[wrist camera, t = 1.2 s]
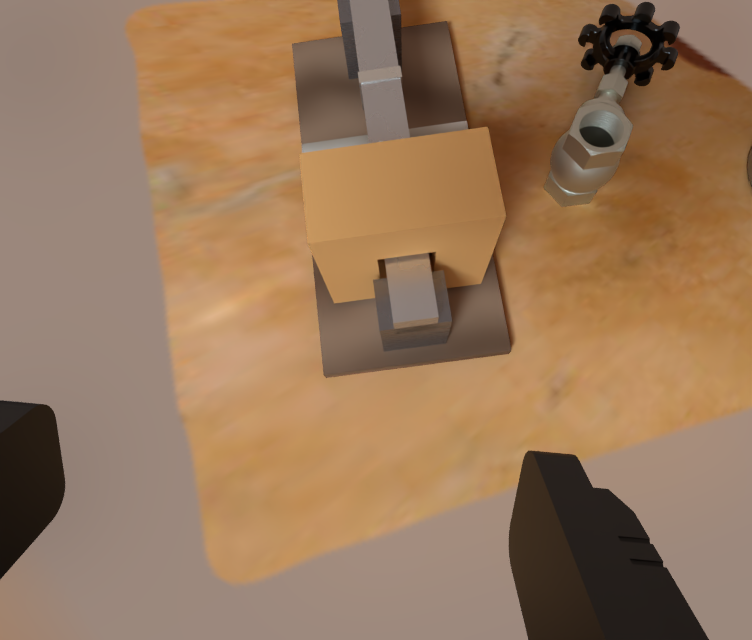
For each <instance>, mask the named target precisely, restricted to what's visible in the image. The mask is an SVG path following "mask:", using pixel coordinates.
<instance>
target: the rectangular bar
mask: <svg viewBox="0 0 752 640" xmlns="http://www.w3.org/2000/svg"><path fill="white" fill-rule="evenodd" d="M337 1H338V9H339V17H340V25H341V31H342V37H343V44H344V50H345V57H346V63H347V70H348V76H349V79H356V78H359V86H360V93H361V101H362V108H363V111H364V112H365V119H366V126H367V134H368V141H369V143H376V142H383V141H390V140H397V139H404V138H410V134H409V128H408V122H407V116H406V110H405V103H404V97H403V91H402V73H401V72H402V42H401V12H400V6H399V0H337ZM384 260H385V267H386V274H387V278H382V279H374V280H373V284H374V292H375V300H376V307H377V315H378V323H379V331H380V335H381V340H382V345H383V349H384V352H385V351H393V350H401V349H408V348H416V347H423V346H431V345H438V344H446V342H447V338H448V335H449V331H450V327H451V324H452V317H451V311H450V305H449V299H448V293H447V287H446V281H445V275H444V270H441V271H433V272H431V266H430V259H429V253H423V254H415V255H408V256H401V257H393V258H386V259H384Z"/></svg>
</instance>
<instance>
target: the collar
mask: <svg viewBox="0 0 752 640" xmlns="http://www.w3.org/2000/svg"><path fill="white" fill-rule="evenodd" d="M299 158H300V169H301V179H302V190H303V201H304V211H305V222H306V233H307V244H308V246H309V248H310V250H311V253H312V255H313V257H314V259H315V261H316V264H317V266H318V268H319V270H320V273H321V275H322V277H323V279H324V282H325V284H326V286H327V288H328V290H329V293H330V295H331V297H332V299H333V302H334V303H342V302H349V301H357V300H364V299H372V298H375V292H374V284H373V280H374V279H382V278H387V274H386V267H385V260H384V259H386V258H393V257H401V256H408V255H415V254H423V253H429V259H430V266H431V272H433V271H441V270H444V275H445V281H446V287H447V288H453V287H461V286H468V285H475V284H481V283H482V280H483V277H484V275H485V272H486V269H487V267H488V264H489V261H490V259H491V256H492V253H493V251H494V248H495V245H496V243H497V240H498V237H499V235H500V232H501V229H502V227H503V224H504V221H505V218H506V212H505V207H504V202H503V198H502V193H501V188H500V183H499V178H498V173H497V169H496V164H495V159H494V154H493V149H492V145H491V140H490V135H489V130H488V127H481V128H474V129H467V130H460V131H453V132H446V133H439V134H432V135H425V136H418V137H411V138H404V139H397V140H390V141H383V142H376V143H369V144H361V145H354V146H347V147H340V148H333V149H326V150H319V151H312V152H305V153H299Z"/></svg>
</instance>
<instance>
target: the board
mask: <svg viewBox="0 0 752 640" xmlns="http://www.w3.org/2000/svg"><path fill="white" fill-rule="evenodd" d="M401 42H402V72H401V73H402V91H403V97H404V103H405V110H406V116H407V122H408V128H409V134H410V138H411V137H418V136H425V135H432V134H439V133H446V132H453V131H460V130H467V129H468V125H467V121H466V116H465V111H464V105H463V100H462V95H461V90H460V85H459V80H458V75H457V70H456V65H455V59H454V54H453V49H452V44H451V39H450V34H449V29H448V24H447V21H444V22H437V23H430V24H424V25H417V26H410V27H403V28H401ZM292 48H293V58H294V69H295V79H296V90H297V100H298V111H299V121H300V132H301V142H302V153H305V152H312V151H319V150H326V149H333V148H340V147H347V146H354V145H361V144H369V141H368V134H367V126H366V119H365V112H364V111H363V108H362V101H361V93H360V86H359V78H356V79H349V76H348V70H347V63H346V57H345V50H344V44H343V37H335V38H328V39H322V40H315V41H308V42H301V43H294V44H292ZM312 257H313V255H312ZM313 268H314V278H315V289H316V299H317V309H318V320H319V330H320V341H321V351H322V362H323V372H324V376H325V377H326V378H328V377H336V376H343V375H351V374H359V373H366V372H374V371H381V370H389V369H397V368H404V367H412V366H420V365H427V364H435V363H442V362H450V361H458V360H465V359H473V358H480V357H488V356H496V355H503V354H509V353H510V352H511V346H510V341H509V335H508V330H507V325H506V320H505V315H504V310H503V305H502V300H501V295H500V289H499V284H498V279H497V274H496V269H495V264H494V259H493V254H492V256H491V259H490V261H489V264H488V267H487V269H486V272H485V275H484V277H483V280H482V283H481V284H475V285H468V286H461V287H453V288H447V293H448V299H449V305H450V311H451V317H452V324H451V327H450V331H449V335H448V338H447V342H446V344H438V345H431V346H423V347H416V348H408V349H401V350H393V351H385V352H384V349H383V345H382V340H381V335H380V331H379V323H378V315H377V307H376V300H375V298H372V299H364V300H357V301H349V302H342V303H334V302H333V299H332V297H331V295H330V293H329V290H328V288H327V286H326V284H325V282H324V279H323V277H322V275H321V273H320V270H319V268H318V266H317V264H316V261H315V259H314V257H313Z"/></svg>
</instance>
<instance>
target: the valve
mask: <svg viewBox="0 0 752 640" xmlns="http://www.w3.org/2000/svg"><path fill="white" fill-rule="evenodd" d="M654 12H655V7H654V5H653V4H652V3H650V2H643V3H641V4H639V5H638V7H637V9H636V11H635V14H634V15H633V16H622V15H621V14H620V8H619V7H618V6H617V5H615V4H609V5H607V6H605V7H604V9H603V11H602V13H601V16H600V18H599V24H600V25H602V24H604V23H605V25H604V26H602V27H601V28H597V27H596V26H595V25H593V24H588V25H585V26H584V27H583V29H582V31H581V33H580V36H579V38H578V42H579V44H580V45H581V46H583V47H585V45H586V42H590V43H592V44H593V49H588V50H587V51H586V52H585V54H584V57H583V59H582V61H581V66H582V67H583V68H584V69H585V70H593V67H594V65H596V64H597V63H599V64H600V65H602V66H603V67H604V69H603V70H604V74H605V75H603V77H602V79H601V82H600V84H599V86H598V89H597V91H596V94H595V96H594V99H591V100H588V101H586V102H585V103H583V104H582V105H581V107H580V108H579V109H578V111H577V113H576V116H575V118H574V120H573V122H572V124H571V127H570V129H569V131H567V132H566V133H565V134H563V135H562V136H561V137H560V139H559V140H558V141H557V143H556V144H555V146H554V148H553V151H552V154H551V161H550V165H551V170H550V173H549V175H548V178H547V180H546V183H545V185H544V189H545V190H546V191H547V192H548V193H549V194H550V195H551V196H552V197H553V199H554V200H555V201H556V202H557V203H558V204H559V205H560V206H561V207H567V206H574V205H582V204H588V203H590V201H591V200H592V198H593V197H594V195H595V194H596V192H597V190H598V189H599V188H600V187H602V186H603V185H605V184H606V183H607V182H608V181H609V180H610V179H611V178H612V176H613V175H614V174H615V172H616V170H617V167H618V165H619V161H620V156H621V155H622V153H623V152H624V150H625V147H626V145H627V142H628V139H629V137H630V134H631V131H632V128H633V124H632V123H631V122H630V120H629V119H628V118H627V117H626V116H625V113H624V111H623V109H622V107H620V106H619V103H620V101H621V99H622V97H623V95H624V92H625V89H626V87H627V84H628V82H627V79H629V78H630V77H631V76H632V75H633V74H635V77H636V78H635V81H634V83H635V84H636V85H638V86H646V85H648V84H649V83H650V80H651V78H652V75H653V72H654V69H653V67H652V66H653V65H654V64H655V63H661V64H662V68H661V70H669V69H671V68H673V66H674V64H675V61H676V58H677V56H678V52H677V50H676V49H675V48H672V47H667V48H665V47H664V42H665V41H668V44H669V45H671V44H673V43H674V42H675V40H676V38H677V35H678V32H679V29H680V26H679V24H678V23H677V22H675V21H667V22H665V23H664V24H663V25H661V26H657V25H655V24H654V23H653V22H651V20H652V17H653V15H654ZM622 29H631V30H636V31H639V32H641V33H643V34H645V35H646V36H647V37H648V38H649V39H650V41H651V43H652V46H651V49H650V51H649V52H648V53H647V54H645V55H641V56H640V51H639V50H640V47H641V45H642V43H641V41H640V40H639V39H638V38H637V37H636V36H634V35H624V36H620V37H619V38H618V40H617V42H616V44H615V45H614V46H613V47H612V46H611V44H610V37H611V34H612V33H613V32H615V31H617V30H622Z"/></svg>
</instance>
